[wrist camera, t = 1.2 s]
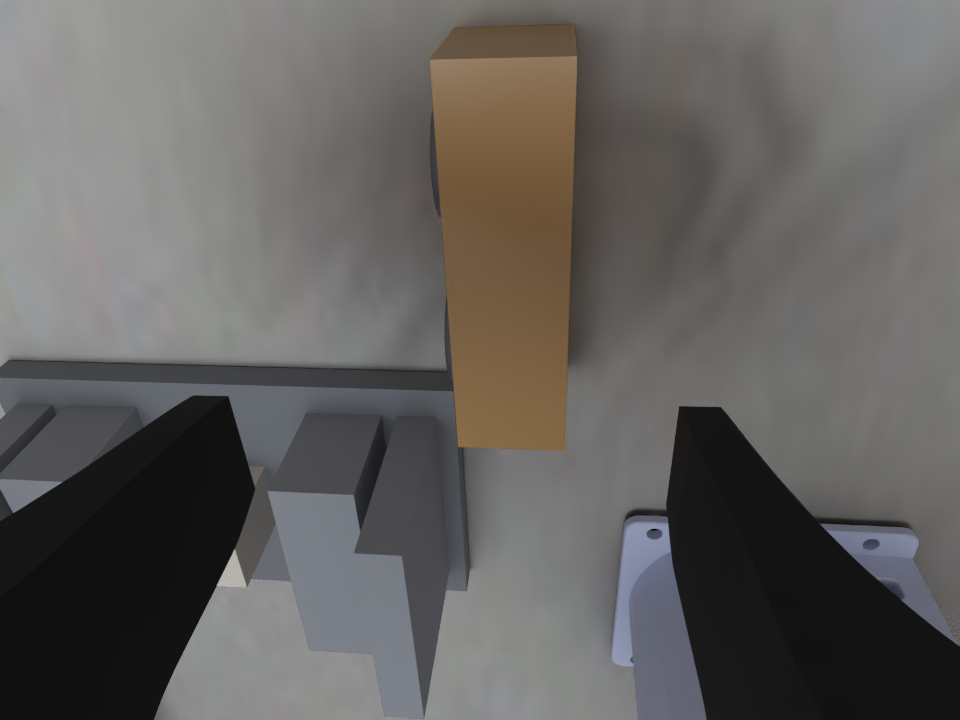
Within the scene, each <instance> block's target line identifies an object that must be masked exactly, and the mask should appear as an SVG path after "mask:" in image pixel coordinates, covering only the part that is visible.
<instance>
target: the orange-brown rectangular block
mask: <svg viewBox="0 0 960 720" xmlns="http://www.w3.org/2000/svg"><path fill="white" fill-rule="evenodd" d="M430 73H431V86H432V100H433V110H432V118H431V136H430V157H431V177H432V187H433V195H434V201H435V206H436V210H437V213H438V215H439V217H440V218H441V222H442V236H443V249H444V263H445V277H446V290H447V297H446V308H445V354H446V364H447V370H448V374H449V377H450V378H451V379H453V385H454V399H455V413H456V426H457V440H458V447H471V448H501V449H531V450H561V451H565V428H566V397H567V365H568V334H569V303H570V271H571V240H572V209H573V178H574V146H575V115H576V84H577V45H576V32H575V24H558V25H523V26H487V27H455V28H454V29H453V31H452V32H451V33H450V34H449V36H448V37H447V38H446V39H445V41H444V42H443V43H442V45H441V46H440V47H439V48H438V50H437V51H436V52H435V53H434V55H433V56H432V57H431V58H430Z"/></svg>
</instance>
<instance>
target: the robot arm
mask: <svg viewBox="0 0 960 720" xmlns="http://www.w3.org/2000/svg"><path fill="white" fill-rule="evenodd" d="M254 492H255V486H254V482H253V479H252V475H251V472H250V469H249V465H248V462H247V458H246V455H245V451H244V448H243V444H242V441H241V438H240V434H239V431H238V427H237V424H236V420H235V417H234V413H233V410H232V407H231V403H230V400H229V396H202V395H193V396H191V397H189V398H188V399H186V400H184V401H183V402H181V403H179V404H178V405H176V406H175V407H173V408H172V409H170V410H169V411H167V412H166V413H164V414H163V415H161V416H160V417H158V418H157V419H155V420H154V421H152V422H151V423H149V424H148V425H146V426H145V427H143V428H142V429H141V430H139V431H138V432H136V433H135V434H133V435H132V436H130V437H129V438H128V439H126V440H125V441H123V442H122V443H120V444H119V445H117V446H116V447H114V448H113V449H111V450H110V451H109V452H107V453H106V454H104V455H103V456H101V457H100V458H98V459H97V460H95V461H94V462H92V463H91V464H90V465H88V466H87V467H85V468H84V469H82V470H81V471H79V472H78V473H76V474H74V475H73V476H71V477H70V478H68V479H67V480H65V481H63V482H62V483H60V484H59V485H57V486H56V487H54V488H52V489H51V490H49V491H48V492H46V493H45V494H43V495H41V496H40V497H38V498H37V499H35V500H34V501H32V502H30V503H29V504H27V505H26V506H24V507H22V508H21V509H19V510H18V511H16V512H14V513H13V514H11V515H9V516H8V517H6V518H4V519H3V520H1V521H0V720H154V717H155V715H156V712H157V709H158V707H159V704H160V702H161V699H162V697H163V694H164V692H165V690H166V687H167V685H168V683H169V681H170V679H171V676H172V674H173V672H174V670H175V668H176V665H177V663H178V661H179V659H180V657H181V655H182V653H183V652H184V650H185V648H186V646H187V644H188V642H189V640H190V638H191V636H192V634H193V632H194V630H195V628H196V626H197V624H198V622H199V620H200V618H201V616H202V614H203V612H204V610H205V608H206V606H207V604H208V602H209V600H210V598H211V596H212V594H213V592H214V590H215V588H216V586H217V584H218V582H219V580H220V578H221V576H222V574H223V572H224V570H225V568H226V566H227V564H228V562H229V560H230V558H231V556H232V554H233V552H234V549H235V547H236V545H237V543H238V540H239V537H240V535H241V532H242V529H243V526H244V523H245V521H246V518H247V514H248V511H249V508H250V505H251V502H252V499H253V495H254ZM666 506H667V517H665V516H643V515H638V516H633V517H630V518H628V519H627V520H626V521H625V523H624V528H623V538H622V547H621V557H620V566H619V576H618V585H617V595H616V604H615V614H614V623H613V633H612V643H611V659H612V661H613V662H614V663H615V664H617V665H620V666H629V667H634V677H635V689H636V700H637V711H638V720H960V646H958V644H957V642H956V640H955V639H954V637H953V635H952V633H951V631H950V629H949V627H948V625H947V623H946V621H945V619H944V617H943V615H942V614H941V612H940V610H939V608H938V606H937V604H936V602H935V600H934V598H933V596H932V594H931V592H930V591H929V589H928V587H927V585H926V583H925V581H924V579H923V577H922V575H921V573H920V571H919V569H918V568H917V566H916V564H915V562H914V560H913V558H914V555H915V553H916V551H917V548H918V546H919V541H918V539H917V537H916V535H915V533H914V531H912V530H911V529H909V528H903V527H882V526H861V525H839V524H820V523H819V522H818V521H817V520H816V519H815V518H814V517H813V516H812V515H811V514H810V513H809V512H808V511H807V509H806V508H805V507H804V506H803V505H802V504H801V503H800V502H799V500H798V499H797V498H796V497H795V496H794V495H793V494H792V493H791V492H790V490H789V489H788V488H787V487H786V486H785V485H784V484H783V483H782V481H781V480H780V479H779V478H778V477H777V476H776V474H775V473H774V472H773V471H772V470H771V469H770V467H769V466H768V465H767V464H766V462H765V461H764V460H763V459H762V458H761V456H760V455H759V454H758V453H757V451H756V450H755V449H754V448H753V447H752V445H751V444H750V443H749V442H748V440H747V439H746V438H745V436H744V435H743V434H742V433H741V431H740V430H739V429H738V428H737V426H736V425H735V424H734V422H733V421H732V420H731V419H730V417H729V416H728V415H727V414H726V412H725V411H724V410H723V409H722V408H721V407H686V406H679V413H678V420H677V428H676V435H675V443H674V451H673V458H672V466H671V473H670V481H669V488H668V496H667V503H666ZM650 529H658V530H656V531H650ZM869 539H872V540H870V541H867V540H869Z"/></svg>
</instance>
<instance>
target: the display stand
mask: <svg viewBox="0 0 960 720" xmlns="http://www.w3.org/2000/svg"><path fill="white" fill-rule="evenodd" d="M193 395H202V396H229V400H230V403H231V407H232V410H233V413H234V417H235V420H236V424H237V427H238V431H239V434H240V438H241V441H242V444H243V448H244V451H245V455H246V458H247V462H248V465H249V469H250V472H251V475H252V479H253V482H254V486H255V492H254V495H253V499H252V502H251V505H250V508H249V511H248V514H247V518H246V521H245V523H244V526H243V529H242V532H241V535H240V537H239V540H238V543H237V545H236V547H235V549H234V552H233V554H232V556H231V558H230V560H229V562H228V564H227V566H226V568H225V570H224V572H223V574H222V576H221V578H220V580H219V582H218V584H217V586H230V587H246V588H247V587H248V584H249V582H250V580H251V579H263V580H281V581H291V582H292V586H293V590H294V593H295V597H296V601H297V605H298V608H299V612H300V616H301V620H302V623H303V627H304V631H305V635H306V639H307V642H308V646H309V650H313V651H328V652H343V653H358V654H372V655H373V659H374V664H375V669H376V675H377V680H378V685H379V691H380V696H381V701H382V707H383V712H384V716H392V717H405V718H418V719H424V716H425V710H426V705H427V699H428V693H429V687H430V681H431V675H432V669H433V663H434V657H435V652H436V646H437V640H438V634H439V628H440V622H441V616H442V610H443V604H444V599H445V593H446V590H453V591H467V586H468V579H469V572H470V565H469V549H468V532H467V516H466V500H465V484H464V468H463V452H462V447H458V440H457V426H456V413H455V399H454V385H453V379H451V378H450V377H449V374H448V372H417V371H380V370H343V369H305V368H268V367H231V366H194V365H157V364H119V363H82V362H45V361H7V362H6V363H5V364H3V365H2V366H1V367H0V403H1V405H2V407H3V409H4V411H5V413H6V415H5V416H4V417H2V418H1V419H0V521H1V520H3V519H4V518H6V517H8V516H9V515H11V514H13V513H14V512H16V511H18V510H19V509H21V508H22V507H24V506H26V505H27V504H29V503H30V502H32V501H34V500H35V499H37V498H38V497H40V496H41V495H43V494H45V493H46V492H48V491H49V490H51V489H52V488H54V487H56V486H57V485H59V484H60V483H62V482H63V481H65V480H67V479H68V478H70V477H71V476H73V475H74V474H76V473H78V472H79V471H81V470H82V469H84V468H85V467H87V466H88V465H90V464H91V463H92V462H94V461H95V460H97V459H98V458H100V457H101V456H103V455H104V454H106V453H107V452H109V451H110V450H111V449H113V448H114V447H116V446H117V445H119V444H120V443H122V442H123V441H125V440H126V439H128V438H129V437H130V436H132V435H133V434H135V433H136V432H138V431H139V430H141V429H142V428H143V427H145V426H146V425H148V424H149V423H151V422H152V421H154V420H155V419H157V418H158V417H160V416H161V415H163V414H164V413H166V412H167V411H169V410H170V409H172V408H173V407H175V406H176V405H178V404H179V403H181V402H183V401H184V400H186V399H188V398H189V397H191V396H193Z"/></svg>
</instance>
